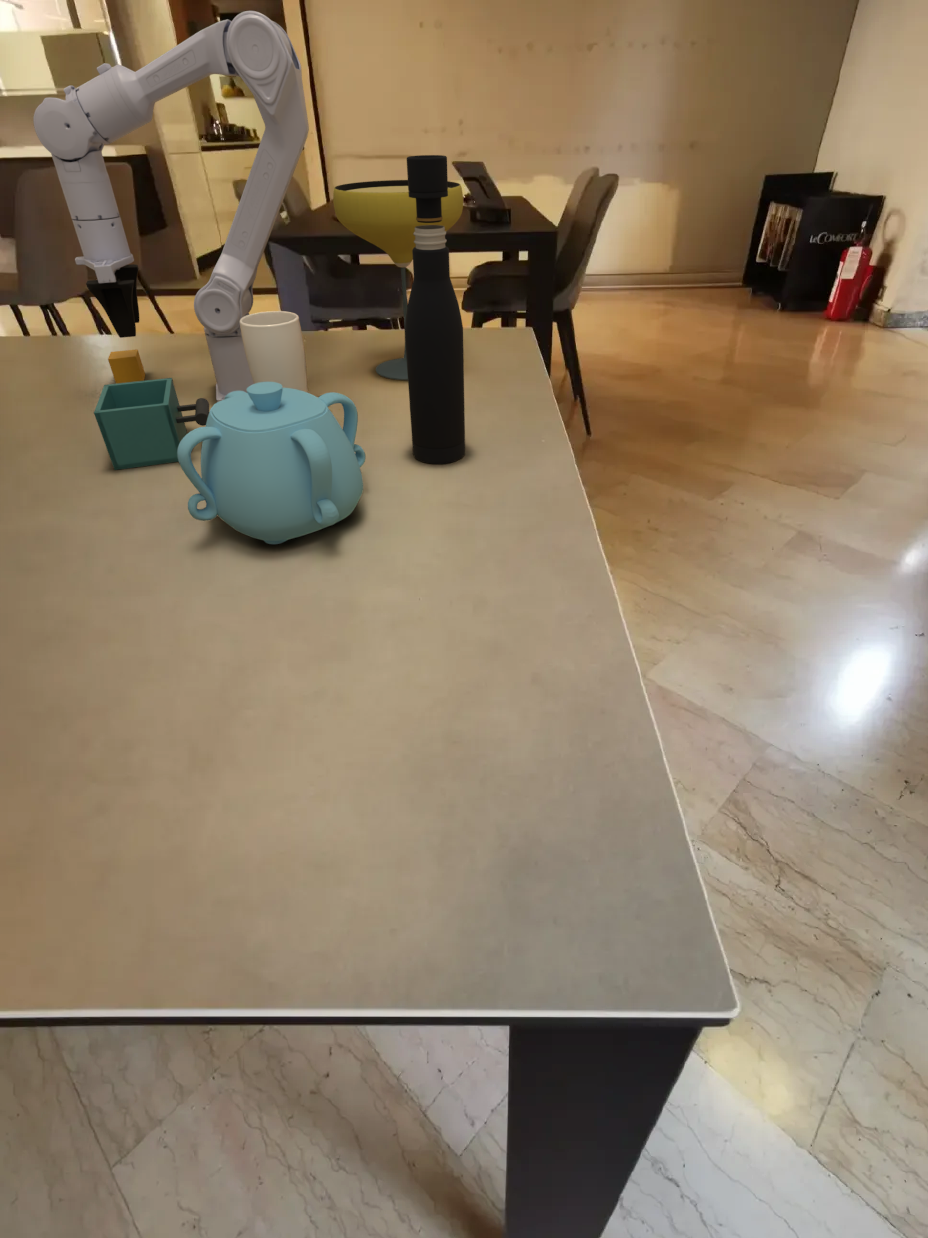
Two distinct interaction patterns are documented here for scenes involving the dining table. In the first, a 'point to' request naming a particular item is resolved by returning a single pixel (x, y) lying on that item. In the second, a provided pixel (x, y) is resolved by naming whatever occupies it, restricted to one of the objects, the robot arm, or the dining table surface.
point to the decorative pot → (275, 462)
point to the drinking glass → (275, 348)
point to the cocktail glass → (390, 230)
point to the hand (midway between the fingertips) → (130, 329)
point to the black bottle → (433, 325)
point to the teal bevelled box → (144, 422)
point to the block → (126, 366)
